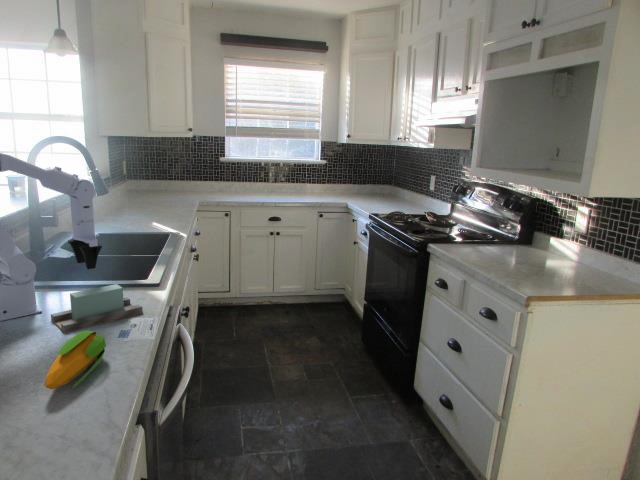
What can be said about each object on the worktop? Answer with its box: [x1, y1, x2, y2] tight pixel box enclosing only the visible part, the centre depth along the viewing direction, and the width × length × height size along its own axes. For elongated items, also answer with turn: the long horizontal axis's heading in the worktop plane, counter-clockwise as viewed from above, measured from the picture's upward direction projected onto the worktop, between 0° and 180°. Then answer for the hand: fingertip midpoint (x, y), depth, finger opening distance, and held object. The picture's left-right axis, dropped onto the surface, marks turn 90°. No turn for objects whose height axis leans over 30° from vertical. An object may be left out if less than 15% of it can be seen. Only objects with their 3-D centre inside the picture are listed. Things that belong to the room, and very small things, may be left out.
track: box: [50, 297, 144, 334], centre depth 124 cm, size 20×10×2 cm, turn 136°
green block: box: [69, 283, 124, 320], centre depth 124 cm, size 12×4×7 cm, turn 136°
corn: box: [44, 330, 107, 390], centre depth 95 cm, size 7×8×20 cm
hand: (86, 265), depth 137 cm, fingers open, 7 cm apart
